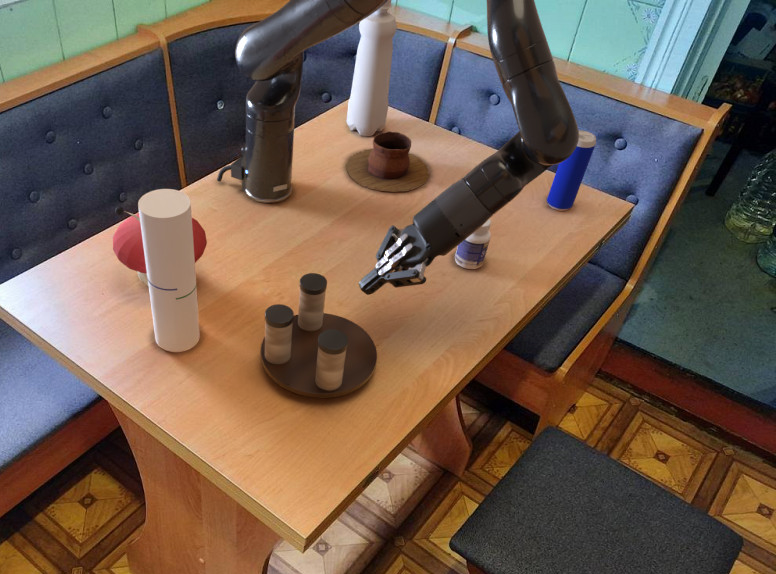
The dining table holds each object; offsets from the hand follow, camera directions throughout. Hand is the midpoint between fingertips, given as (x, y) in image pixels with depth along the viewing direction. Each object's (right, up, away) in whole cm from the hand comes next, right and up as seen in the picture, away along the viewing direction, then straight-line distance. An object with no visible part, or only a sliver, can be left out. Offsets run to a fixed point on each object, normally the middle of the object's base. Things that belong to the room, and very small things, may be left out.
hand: (363, 289), depth 114 cm
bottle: (+7, +43, +54) cm, 70 cm away
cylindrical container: (-30, -7, +4) cm, 31 cm away
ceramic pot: (+10, +30, +41) cm, 52 cm away
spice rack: (-7, -10, -1) cm, 12 cm away
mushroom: (-33, +4, +14) cm, 36 cm away
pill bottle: (+22, +8, +20) cm, 31 cm away
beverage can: (+44, +21, +34) cm, 59 cm away
